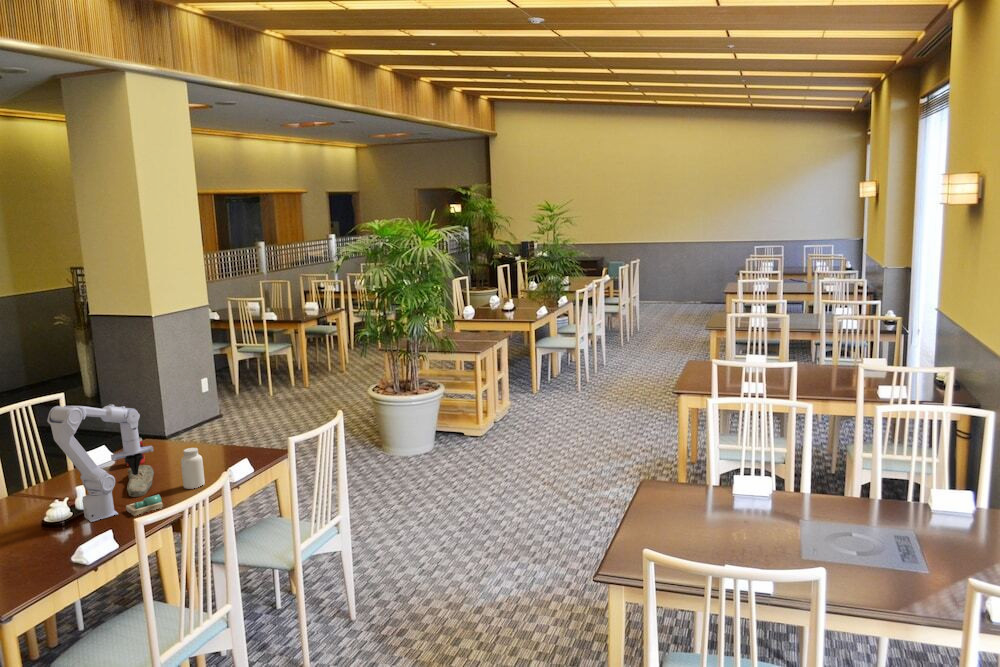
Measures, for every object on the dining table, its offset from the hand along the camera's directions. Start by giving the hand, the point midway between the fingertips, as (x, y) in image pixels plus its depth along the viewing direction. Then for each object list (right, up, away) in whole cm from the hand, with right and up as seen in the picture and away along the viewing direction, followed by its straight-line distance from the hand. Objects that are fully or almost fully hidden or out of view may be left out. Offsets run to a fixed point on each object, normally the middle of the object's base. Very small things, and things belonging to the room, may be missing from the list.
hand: (135, 474), depth 292 cm
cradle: (+8, -11, -8) cm, 16 cm away
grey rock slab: (-8, -8, +22) cm, 24 cm away
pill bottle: (+17, -8, +15) cm, 23 cm away
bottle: (+11, -9, -4) cm, 15 cm away
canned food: (-22, -4, +48) cm, 53 cm away
